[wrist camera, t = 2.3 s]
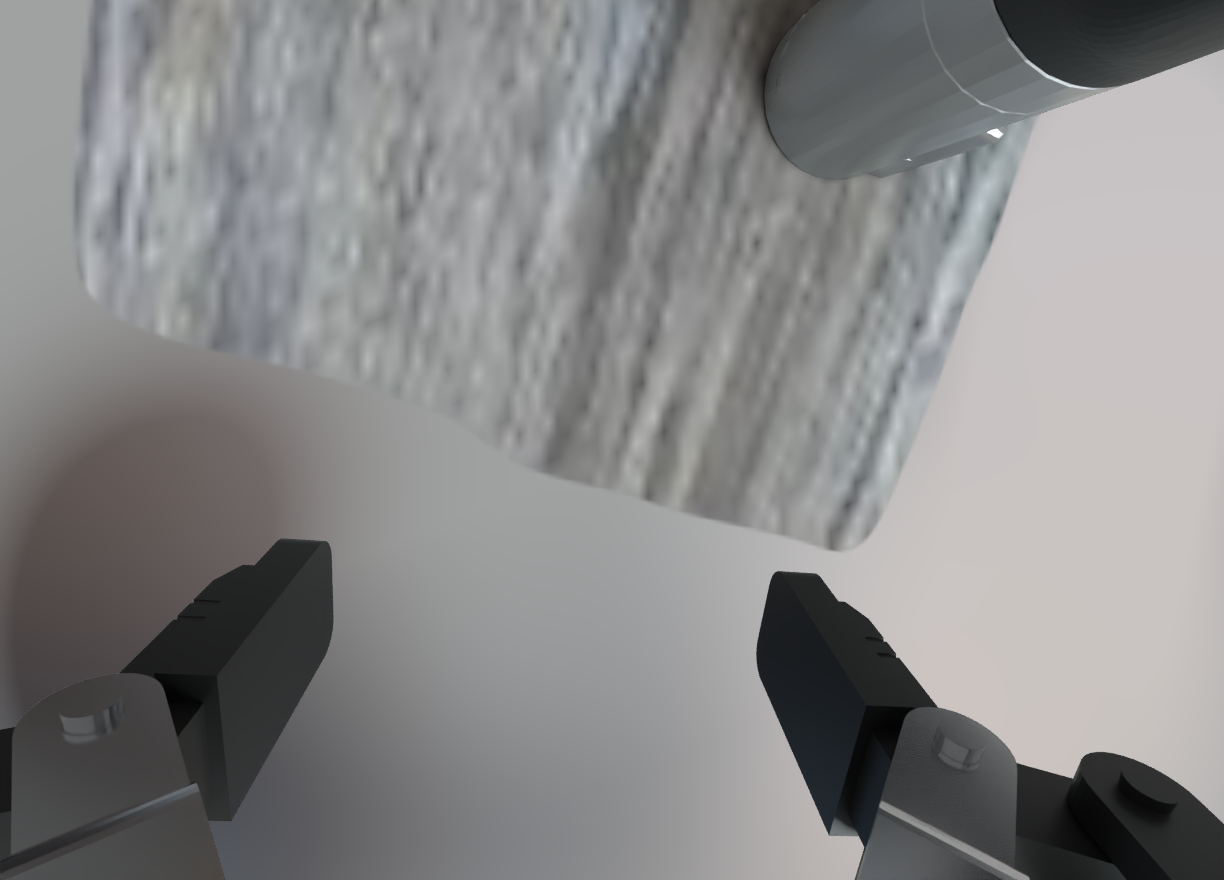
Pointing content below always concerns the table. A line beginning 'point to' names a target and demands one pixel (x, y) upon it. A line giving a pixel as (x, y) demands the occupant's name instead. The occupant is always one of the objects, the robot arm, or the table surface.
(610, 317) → the table surface
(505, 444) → the table surface
